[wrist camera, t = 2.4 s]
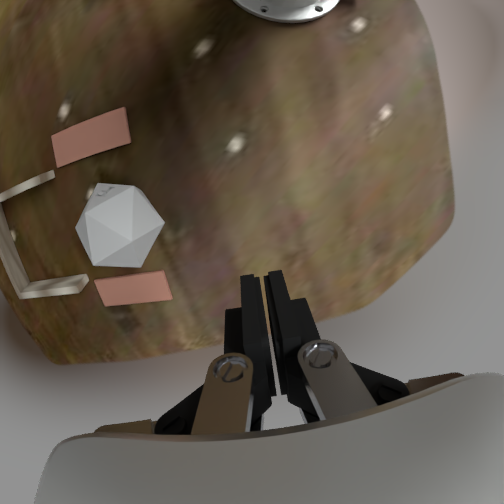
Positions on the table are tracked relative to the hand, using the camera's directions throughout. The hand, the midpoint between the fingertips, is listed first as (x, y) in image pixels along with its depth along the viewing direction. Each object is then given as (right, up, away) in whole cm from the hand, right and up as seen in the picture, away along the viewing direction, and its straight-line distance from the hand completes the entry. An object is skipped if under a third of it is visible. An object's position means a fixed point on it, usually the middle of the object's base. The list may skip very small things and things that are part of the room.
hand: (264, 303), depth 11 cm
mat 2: (-16, -3, +21) cm, 26 cm away
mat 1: (-18, +14, +13) cm, 26 cm away
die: (-14, +6, +17) cm, 23 cm away
